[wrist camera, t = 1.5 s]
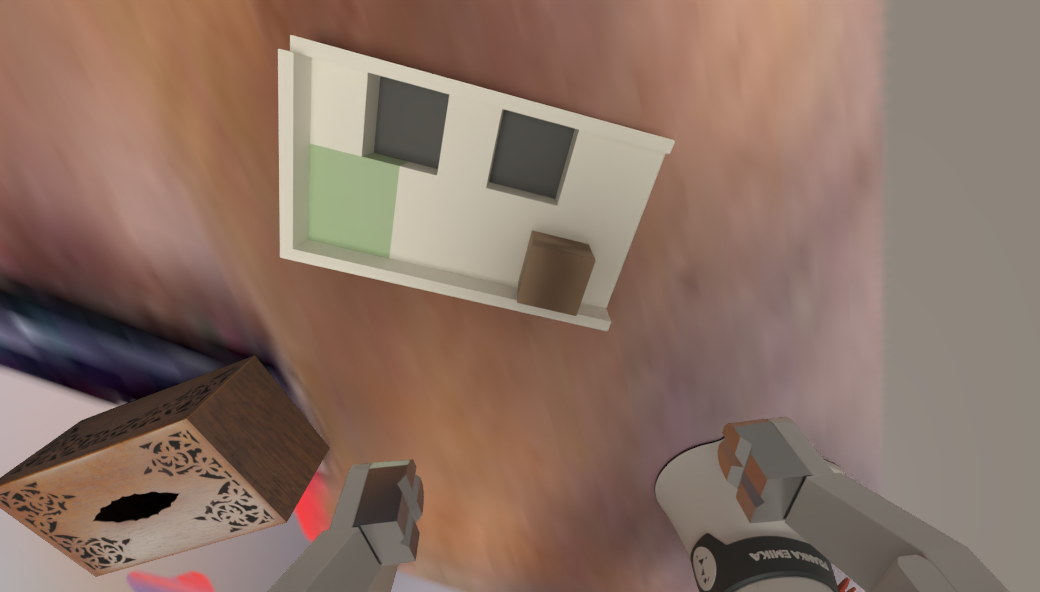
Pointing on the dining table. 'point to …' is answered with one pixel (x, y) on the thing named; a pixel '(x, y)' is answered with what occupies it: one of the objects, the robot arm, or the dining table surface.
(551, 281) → the walnut block
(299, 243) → the box
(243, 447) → the tissue box cover
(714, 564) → the robot arm
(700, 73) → the dining table surface
